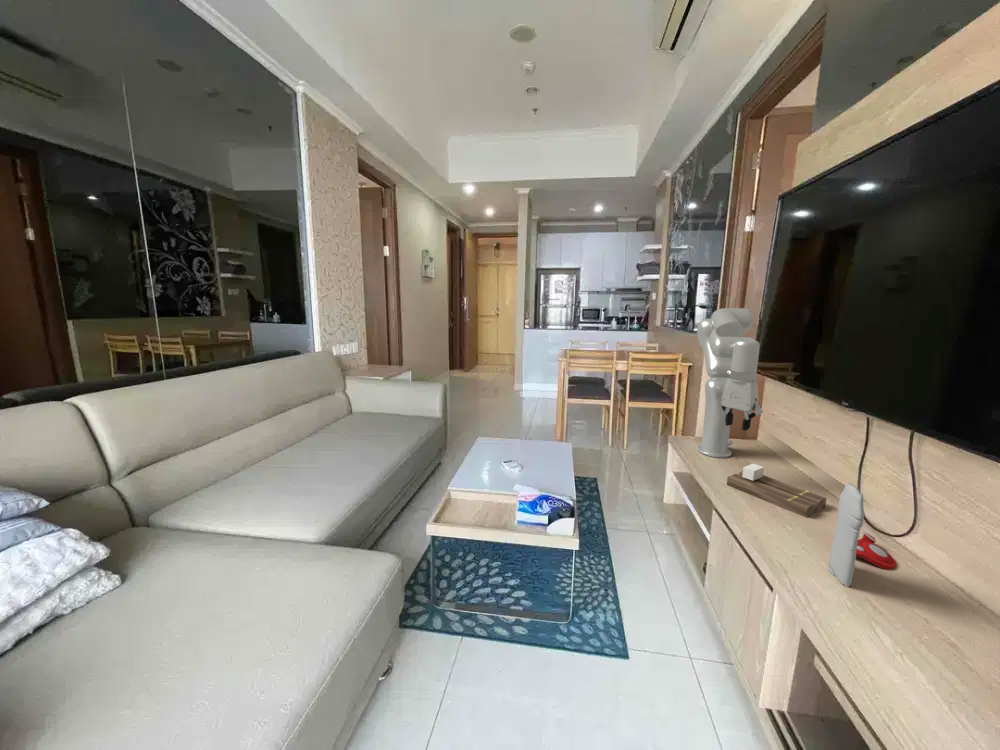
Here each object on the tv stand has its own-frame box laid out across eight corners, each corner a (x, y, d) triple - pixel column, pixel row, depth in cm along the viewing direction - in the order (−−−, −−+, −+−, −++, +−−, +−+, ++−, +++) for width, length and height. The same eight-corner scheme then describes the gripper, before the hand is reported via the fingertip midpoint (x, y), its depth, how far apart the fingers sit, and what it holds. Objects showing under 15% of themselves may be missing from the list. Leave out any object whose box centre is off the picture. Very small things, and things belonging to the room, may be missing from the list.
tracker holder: (909, 568, 95) (866, 557, 96) (897, 580, 97) (855, 569, 98) (875, 529, 106) (836, 519, 107) (864, 541, 108) (827, 531, 109)
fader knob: (751, 477, 141) (753, 463, 140) (762, 481, 138) (764, 467, 137) (741, 481, 138) (743, 467, 137) (752, 485, 135) (754, 471, 134)
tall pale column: (821, 558, 101) (835, 476, 96) (841, 562, 99) (856, 479, 95) (836, 585, 91) (852, 496, 87) (859, 590, 90) (877, 500, 85)
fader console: (746, 477, 145) (747, 469, 145) (825, 506, 125) (826, 497, 124) (726, 484, 139) (727, 476, 139) (806, 517, 119) (807, 507, 118)
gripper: (712, 373, 142) (707, 422, 146) (763, 382, 128) (756, 436, 131) (724, 371, 146) (719, 419, 149) (775, 379, 131) (768, 432, 135)
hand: (737, 426), depth 140 cm, fingers open, 5 cm apart
